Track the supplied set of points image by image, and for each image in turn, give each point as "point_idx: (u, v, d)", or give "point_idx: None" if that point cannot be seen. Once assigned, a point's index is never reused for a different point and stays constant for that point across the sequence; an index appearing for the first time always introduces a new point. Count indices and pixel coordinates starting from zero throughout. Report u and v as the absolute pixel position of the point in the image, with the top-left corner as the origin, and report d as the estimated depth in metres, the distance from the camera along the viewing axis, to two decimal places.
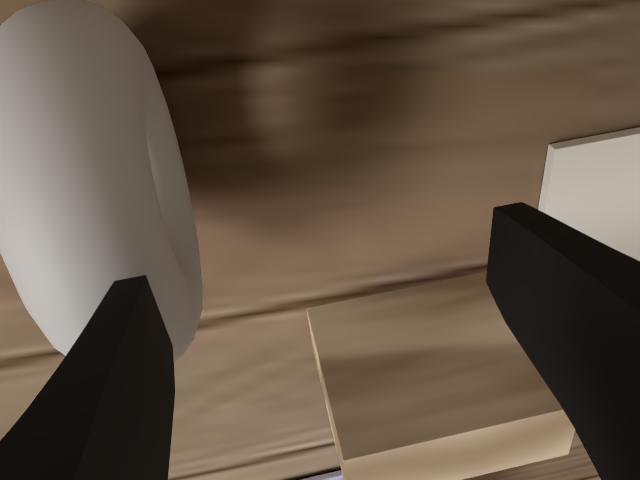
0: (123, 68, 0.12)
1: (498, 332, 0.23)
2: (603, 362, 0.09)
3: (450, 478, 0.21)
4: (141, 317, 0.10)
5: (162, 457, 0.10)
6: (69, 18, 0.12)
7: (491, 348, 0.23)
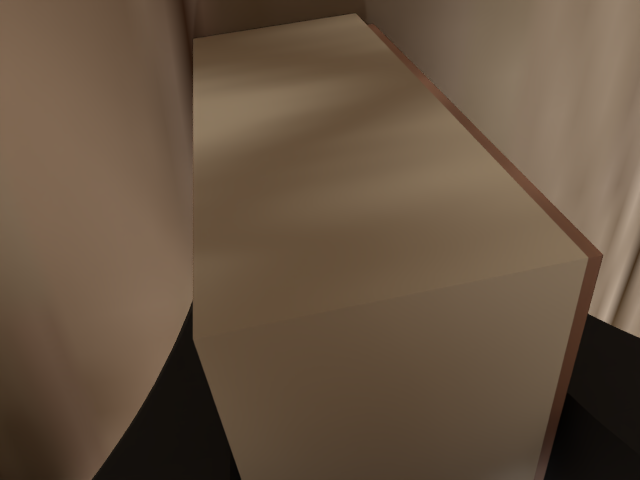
0: None
1: None
2: None
3: None
4: None
5: None
6: None
7: None
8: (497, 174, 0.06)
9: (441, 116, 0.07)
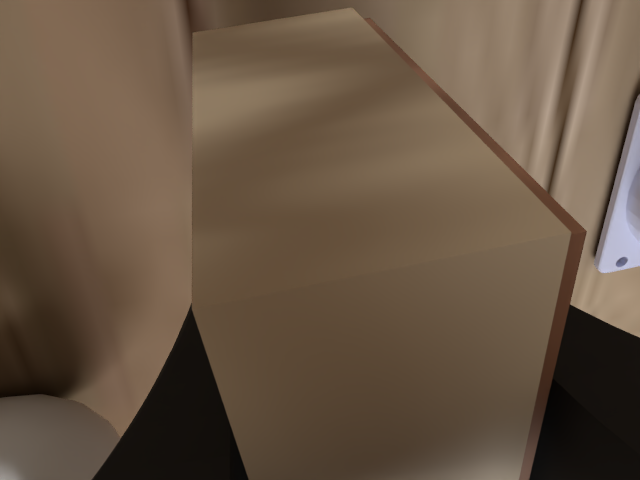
0: None
1: None
2: None
3: None
4: None
5: None
6: None
7: None
8: (486, 157, 0.06)
9: (433, 103, 0.07)
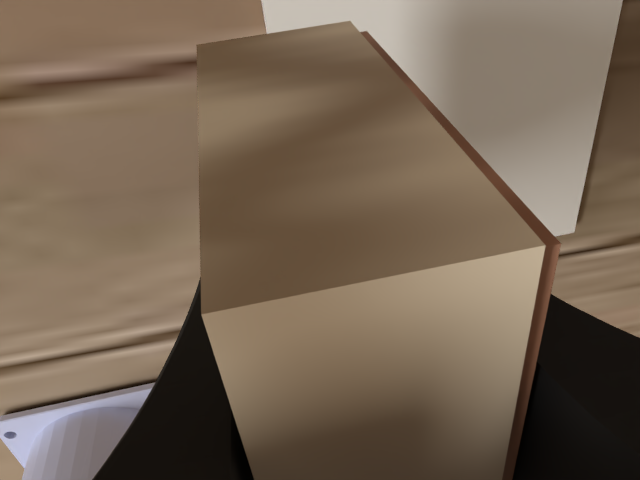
0: None
1: None
2: None
3: None
4: None
5: None
6: None
7: None
8: (472, 172, 0.06)
9: (425, 119, 0.07)
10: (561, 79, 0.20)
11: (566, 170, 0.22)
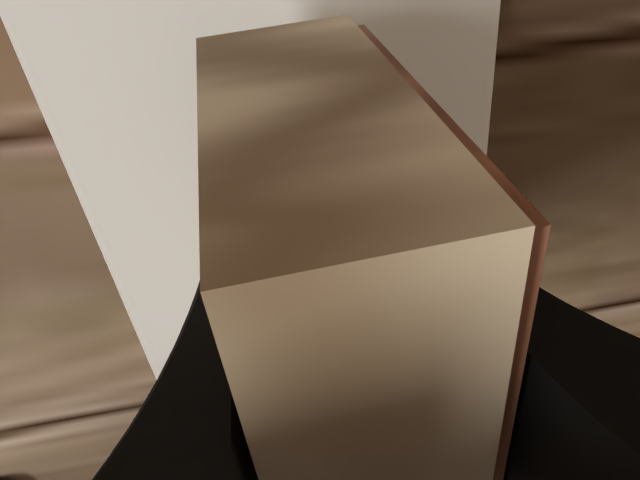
0: None
1: None
2: None
3: None
4: None
5: None
6: None
7: None
8: (465, 158, 0.06)
9: (420, 108, 0.08)
10: None
11: None
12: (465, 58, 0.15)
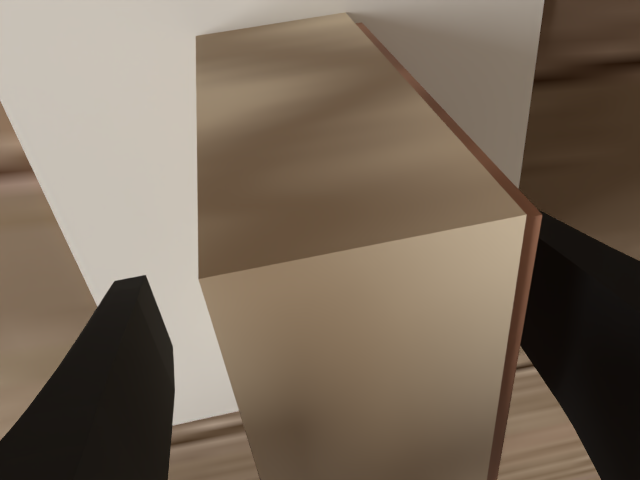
0: None
1: None
2: (603, 362, 0.09)
3: None
4: (141, 317, 0.10)
5: (162, 457, 0.10)
6: None
7: None
8: (459, 150, 0.07)
9: (415, 103, 0.08)
10: None
11: None
12: (499, 83, 0.13)
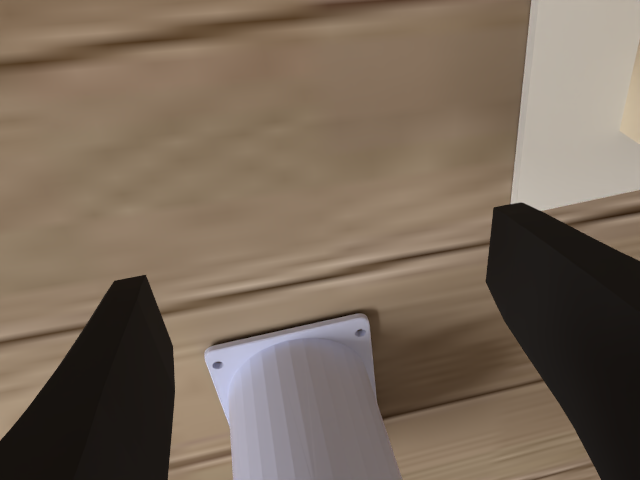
0: None
1: None
2: (603, 362, 0.09)
3: None
4: (141, 317, 0.10)
5: (162, 457, 0.10)
6: None
7: None
8: None
9: None
10: None
11: None
12: None
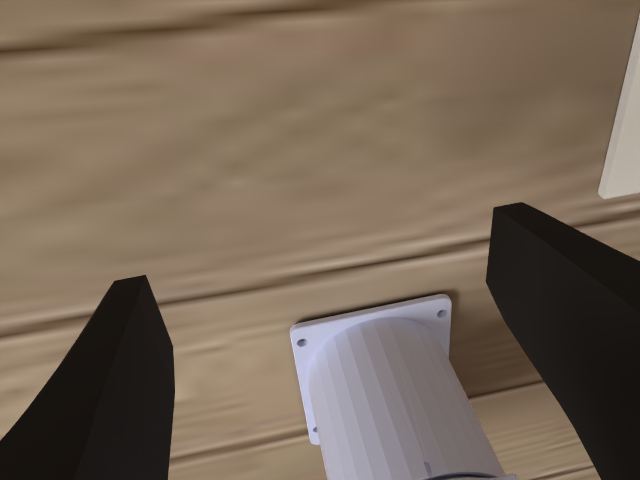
0: None
1: None
2: (603, 362, 0.09)
3: None
4: (141, 317, 0.10)
5: (162, 457, 0.10)
6: None
7: None
8: None
9: None
10: None
11: None
12: None
